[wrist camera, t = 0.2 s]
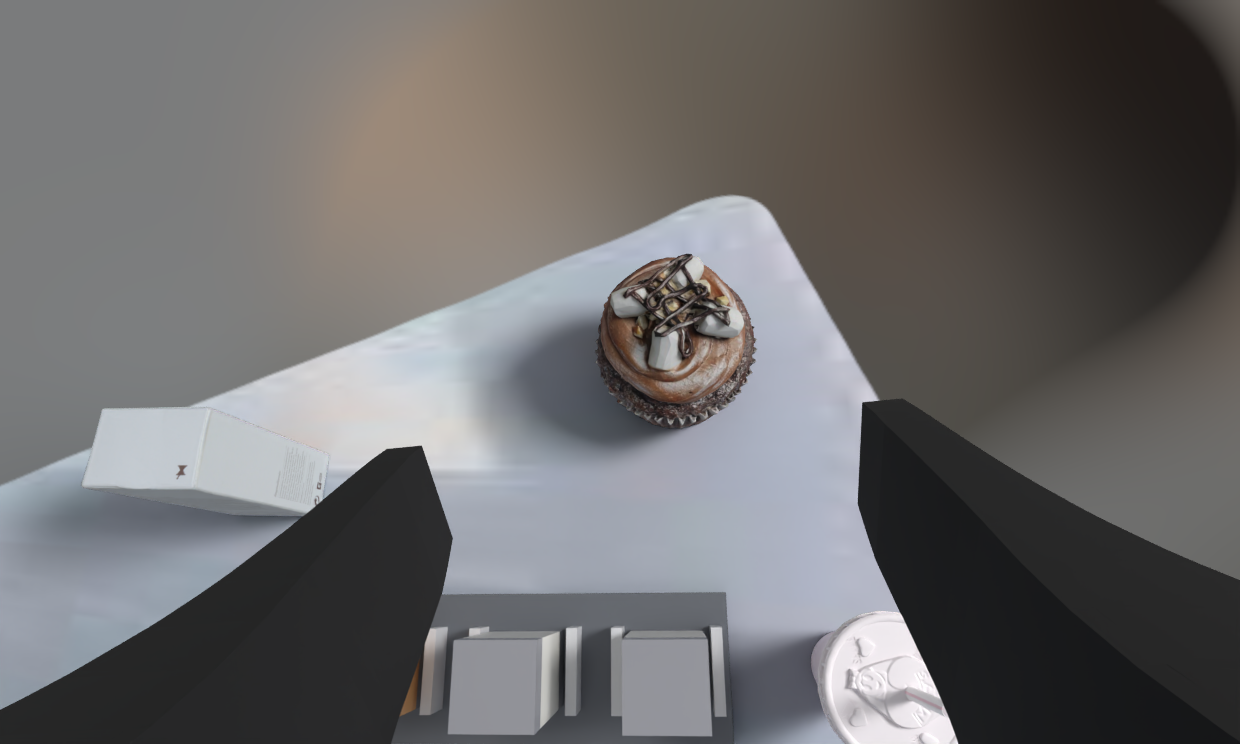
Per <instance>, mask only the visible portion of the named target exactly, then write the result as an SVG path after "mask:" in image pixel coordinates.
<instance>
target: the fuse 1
mask: <svg viewBox="0 0 1240 744" xmlns="http://www.w3.org/2000/svg"><path fill="white" fill-rule="evenodd" d="M563 652H564V630H495V631H491V632H486V633H482V634H478V635H474V636H469V637H465V638H461V639H456V640H454V644H453V660H452V675H451V691H450V706H449V722H448V734H477V735H535V734H536V733H537V731H538V730H539V729H540V728H541V727H542V726H543V725H544V724H545V723H546V722H547V721H548V720H549V719H550V718H551V717H552V716H553V715H554V714H555V713H556V712H557V711H558V710H559V709H560V708H561V707H562V706H563Z"/></svg>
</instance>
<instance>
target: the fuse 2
mask: <svg viewBox="0 0 1240 744" xmlns="http://www.w3.org/2000/svg"><path fill="white" fill-rule="evenodd" d="M622 736H712V721H711V699H710V677H709V655H708V639H707V637H706V636H705V634H704V633H703V631H702V629H651V630H631V631H630V632H629V633H628V634H627V635H626V636H625V637H624V638H623V639H622Z"/></svg>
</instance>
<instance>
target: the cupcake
mask: <svg viewBox="0 0 1240 744" xmlns="http://www.w3.org/2000/svg"><path fill="white" fill-rule="evenodd" d="M604 308H605V309H604V311H603V315H602V318H601V324H600V325H599V328H598V332H599V334H600V336H599V339H597V340H596V343H597V345H598V349H597V350H595V353H596V354H597V355H598V359H597V361H596V363H597V365H598V366H599V367H600V368H601V377H602V378H604V383H605V385H606V386H607V387H609V394H610V395H613V396H614V397H615V398H617V399H618V401H617V402H618V403H619V404H622V405H623V406H625V407H626V410H628V411H631V412H633V413H634V414H636V415H638V416H639V417H641V418H643V419H644V420H646V421H648V422H649V423H651V424H653V425H659V426H662V427H666V428H684V427H687V426H691V425H695V424H699V423H701V422H703V421H705V420H707V419H708V418H710V417H711V416H713V415H715V414H717V413H718V411H720V410H722V409H724V408H726V407H728V403H730V402H732V401H734V400H735V399H736V398H735V395H738V394H739V393H741V386H743V385H745V384H746V383H748V381H747V379H746V377H747V376H749V375H751V373H752V371H751V369H750V366H751V365H752V364H753V363H755V362H756V360H755V359H754V358H752V355H753V354H754V353H755V352H756V350H757V349H756V348H755V347H754V343H755V341H756V340H757V339H755V338H754V334H753V328H754V327H753V326H751V322H750V320H751V318H750V317H749V314H748V312H747V310H746V308H745V306H744V304H743V302H742V300H741V299H740V297H739V296H738V295H737V294H736V293H735V292H734V291H733V290H732V289H731V288H730V287H729V286H728V285H727V284H726V283H724V282H723V281H722V280H721V279H720V278H719V277H718V275H717V274H716V273H715V272H713V271H712V270H711V269H710V268H708V267H707V266H705V265H704V264H703V263H702V261H701V260H700V258H699V257H695V256H692V254H685V255H681V256H678V257H677V258H663V259H659V260H655V261H651V262H650V263H648V264H646V265H644V266H642V267H641V268H639V269H637V270H636V271H635V272H633V273H632V274H631V275H629V276H628V277H626V278H625V279H624V280H623V281H622V282H621V283H619V284H618V285H617V286H616V288H615V289H614V290H613V291H612V292H611V294H610V296H609V297H608V301H607V302H606V303H605V304H604Z"/></svg>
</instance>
